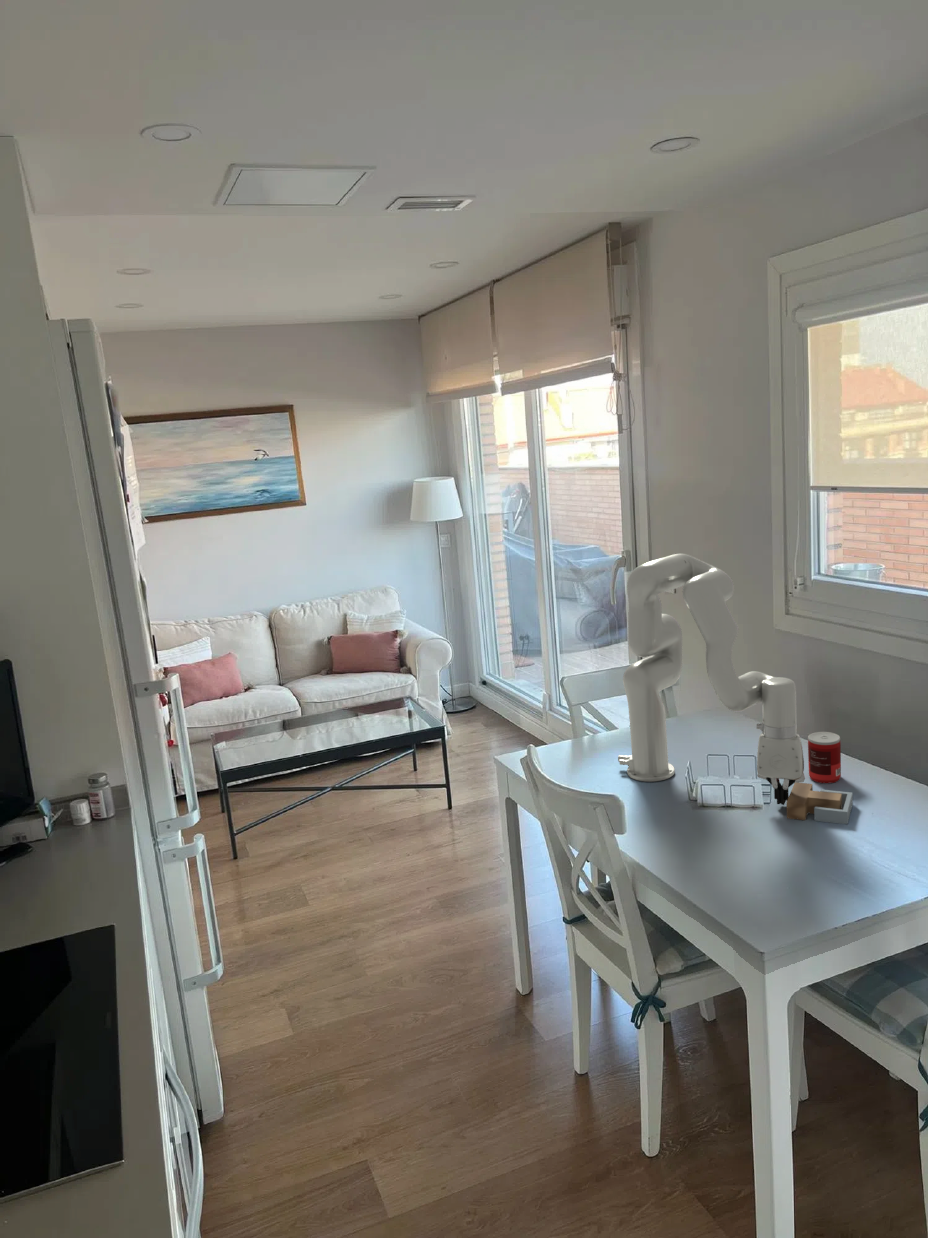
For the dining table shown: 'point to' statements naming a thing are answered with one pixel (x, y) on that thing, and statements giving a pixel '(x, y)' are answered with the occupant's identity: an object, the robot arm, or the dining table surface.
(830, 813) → the bracket
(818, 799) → the t block
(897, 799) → the dining table surface
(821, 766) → the canned food
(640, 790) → the dining table surface
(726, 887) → the dining table surface
